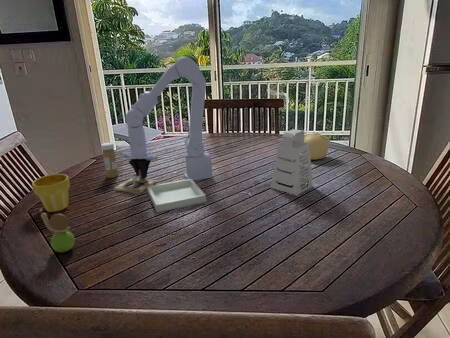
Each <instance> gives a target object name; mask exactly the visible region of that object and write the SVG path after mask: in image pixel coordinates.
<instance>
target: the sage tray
mask: <svg viewBox="0 0 450 338" xmlns="http://www.w3.org/2000/svg"><path fill="white" fill-rule="evenodd" d="M146 190H147V191H146V192H147V194H148V197H149V198H150V201H151V203H152V205H153V208H154V209H155V211H156V213H162V212H166V211H171V210H176V209H181V208H186V207H191V206H195V205H200V204H205V203H207V195H206V194H205V192H204V191H203V190H202V189H201V188H200V187H199V185H197V183H196V182H195V181H193V180H192V179H187V178H186V179H181V180H180V179H179V180H176V181H169V182H164V183H158V184H153V185H152V186H147V189H146Z"/></svg>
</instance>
